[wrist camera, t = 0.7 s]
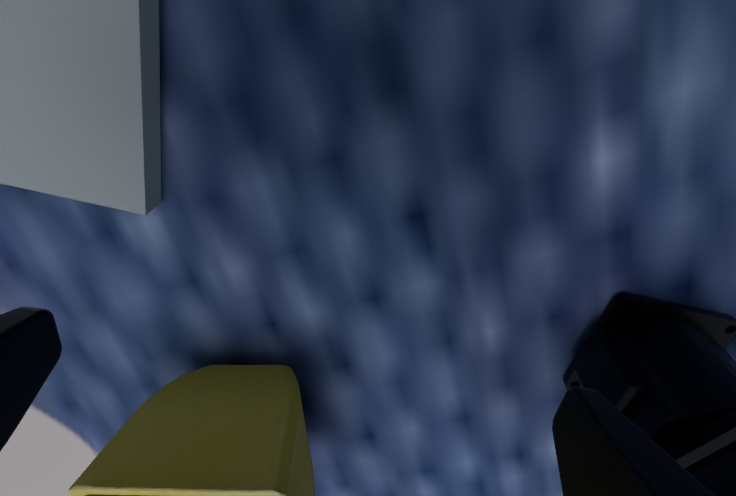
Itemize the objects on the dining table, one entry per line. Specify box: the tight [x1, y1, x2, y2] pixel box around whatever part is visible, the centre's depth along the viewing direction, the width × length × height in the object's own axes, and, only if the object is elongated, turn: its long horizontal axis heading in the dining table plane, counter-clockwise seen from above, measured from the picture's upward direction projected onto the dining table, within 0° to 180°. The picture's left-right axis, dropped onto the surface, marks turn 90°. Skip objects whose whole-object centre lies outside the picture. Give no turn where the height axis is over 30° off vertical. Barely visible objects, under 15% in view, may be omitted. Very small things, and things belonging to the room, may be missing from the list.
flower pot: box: [68, 365, 315, 496], centre depth 23 cm, size 9×9×9 cm
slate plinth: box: [0, 0, 161, 215], centre depth 17 cm, size 9×9×2 cm
